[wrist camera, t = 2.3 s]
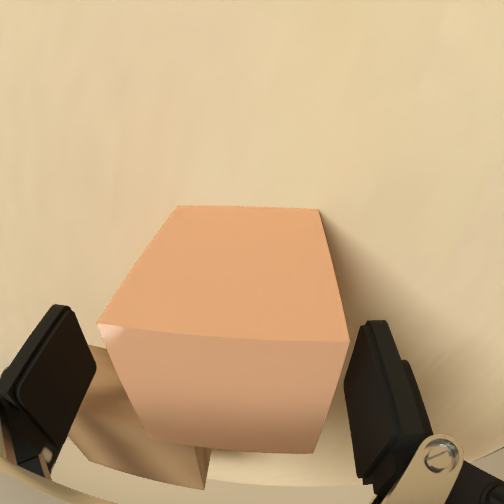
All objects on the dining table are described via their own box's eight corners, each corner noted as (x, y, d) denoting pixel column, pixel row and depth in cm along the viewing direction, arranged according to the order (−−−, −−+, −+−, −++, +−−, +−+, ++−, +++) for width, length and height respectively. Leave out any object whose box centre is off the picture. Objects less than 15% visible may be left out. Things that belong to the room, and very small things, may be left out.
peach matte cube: (317, 208, 12) (350, 341, 6) (306, 318, 15) (312, 453, 9) (177, 205, 13) (96, 323, 7) (191, 312, 15) (150, 438, 9)
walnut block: (209, 364, 17) (192, 439, 13) (214, 434, 22) (204, 490, 18) (74, 338, 18) (39, 396, 14) (108, 412, 22) (89, 460, 18)
